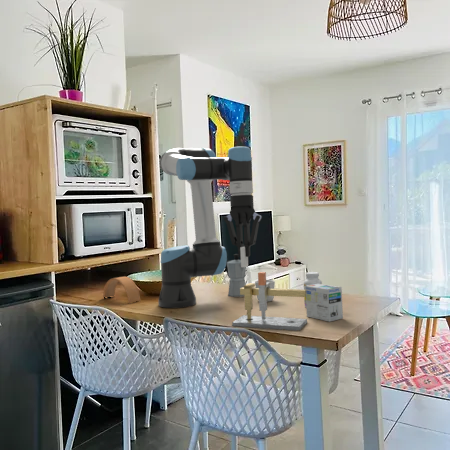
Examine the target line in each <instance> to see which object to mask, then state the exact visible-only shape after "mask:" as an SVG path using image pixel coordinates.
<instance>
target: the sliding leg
mask: <svg viewBox="0 0 450 450" xmlns="http://www.w3.org/2000/svg"><path fill="white" fill-rule="evenodd" d="M257 279H258V280H257V281H258V287H259V300H258V305H259V307H258V308H259V309H258V310H259V311H261V316H262V320H265V319H266V317H267V316H266V311H268V302H267V289H266V288H269V289H270V283H266V280H267V273H266V272H265V271H260V272H258V273H257Z"/></svg>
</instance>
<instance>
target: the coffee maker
mask: <svg viewBox="0 0 450 450" xmlns="http://www.w3.org/2000/svg"><path fill="white" fill-rule="evenodd" d="M233 258H234V259H231V260H227V261H226V267H225V269H224V270H225V272H226V275H227V277H228V278H229V285H228V291H227V292H228V294H227V296H228V297H231V298H243V297H244V295H240V288H244V285H247V283H246V280H245V278H246V272H247V271H246V270H247V267H241V259H239V258H240V257H239V256H238V253H235V254H233Z"/></svg>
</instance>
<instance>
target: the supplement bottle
mask: <svg viewBox="0 0 450 450" xmlns="http://www.w3.org/2000/svg"><path fill="white" fill-rule="evenodd" d="M319 276H320V272H316V271H309V272H306V273H305V277H306V279H305V280H303V290H306V286H307V285H314V284H323V281H322V280H321V279H320V278H319ZM303 298H304V308H306V297H303Z"/></svg>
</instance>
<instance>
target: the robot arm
mask: <svg viewBox="0 0 450 450" xmlns="http://www.w3.org/2000/svg"><path fill="white" fill-rule="evenodd" d="M227 151H228V153H227V157H217V156H216V154H215V152H214V150H212V149H211V148H205V147H194V148H193V147H188V148H187V147H186V148H185V147H184V148H182V147H176V148H172V149H169V150H167V151H165V152H163V153H162V155H160V159H159V167H160V169H161V170H162V172H163V173H165V174H166V175H169V176H177V178H178V179H179V180H180V181H186V182H187V183H188V184H190V189H191V201H192V203H191V204H192V210H193V212H192V213H193V221H194V224H193V225H194V233H195V241H194V242H193V243H192V248H190V246H189V245H187V244H186V245H178V246H177V245H176V246H172V247H168V248H165V249H163V250H162V251H161V253H160V265H161V266H160V267H161V269H160V271H161V290H160V293H159V296H158V307H161V308H164V309H165V308H166V309H178V308H187V307H192V306H195V305H196V304H197V297H196V295H195V292H194V289H193V287H192V281H191V280H192V278H194V277H195V278H197V277H209V276H212V277H213V276H217V275H218V276H219V275H221V274H223V273H224V271H225V270H226V269H225V267H226V262H227V261H228V258H227V256H228V253H227V250H226V249H227V248H226V247H225V246H222V245H221V241H220V240H219V239H218V238H217V233H216V232H217V231H216V221H215V212H214V203H213V190H212V182H213V181H215V180H217V181H218V180H219V181H220V180H221V181H229V194H230V197H229V199H230V202H229V203H230V211H229V214H227V215H226V216H224V217H223V221H224V222H225V224H226V227H227V231H228V234H229V237H230V243H231V245H232V246H236V248H237V254H238V256H239V257H238V258H240V260H241V267H246V268H247V267H249V257H250V256H251V246H253V245H256V244H257V242H256V241H257V237H258V231H259V226H260V222H261V220H262V219H263V215H260V214H258V213H257V212H256V210H255V208H254V206H255V205H254V196H253V195H252V194H253V193H254V188H253V186H254V185H253V165H252V164H253V163H252V162H253V161H252V160H253V157H252V149H251V148H250V147H248V146H233V147H230V148H228V150H227ZM252 219H253V222H252V228H250V227H251V221H252ZM233 220H234V222H235V227H236V229H235V227H234V223H233Z"/></svg>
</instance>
